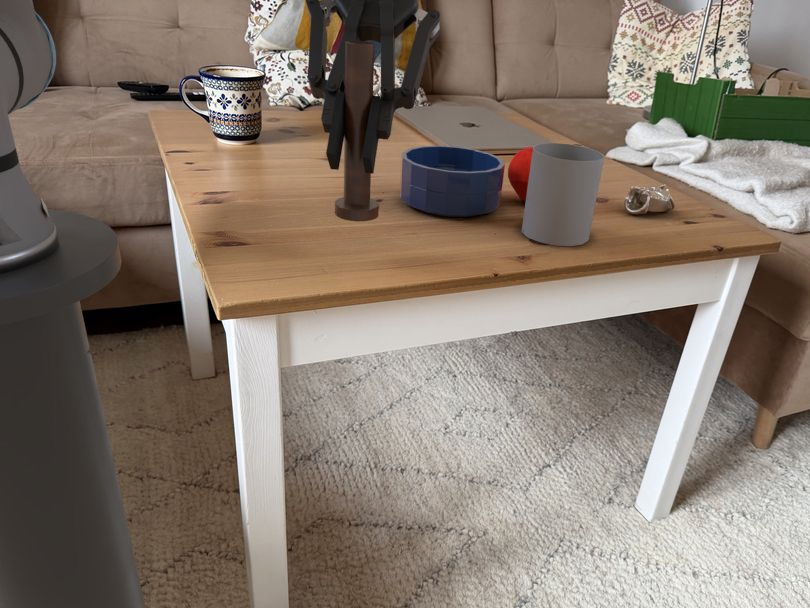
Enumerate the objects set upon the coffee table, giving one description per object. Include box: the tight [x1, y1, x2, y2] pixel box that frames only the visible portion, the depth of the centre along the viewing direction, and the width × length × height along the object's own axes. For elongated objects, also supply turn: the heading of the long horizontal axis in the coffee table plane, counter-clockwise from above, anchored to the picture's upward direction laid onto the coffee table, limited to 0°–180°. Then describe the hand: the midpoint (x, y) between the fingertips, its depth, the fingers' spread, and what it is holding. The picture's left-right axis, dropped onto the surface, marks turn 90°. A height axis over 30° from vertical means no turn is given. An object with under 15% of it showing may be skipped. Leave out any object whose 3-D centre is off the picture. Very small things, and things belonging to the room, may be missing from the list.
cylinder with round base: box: [334, 40, 380, 222], centre depth 64 cm, size 4×4×16 cm
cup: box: [521, 142, 605, 247], centre depth 80 cm, size 8×8×10 cm
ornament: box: [623, 183, 676, 216], centre depth 94 cm, size 8×7×4 cm
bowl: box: [399, 145, 506, 218], centre depth 88 cm, size 13×13×6 cm
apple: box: [507, 146, 533, 203], centre depth 92 cm, size 8×8×7 cm
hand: (350, 163), depth 62 cm, fingers closed on cylinder with round base, 3 cm apart
